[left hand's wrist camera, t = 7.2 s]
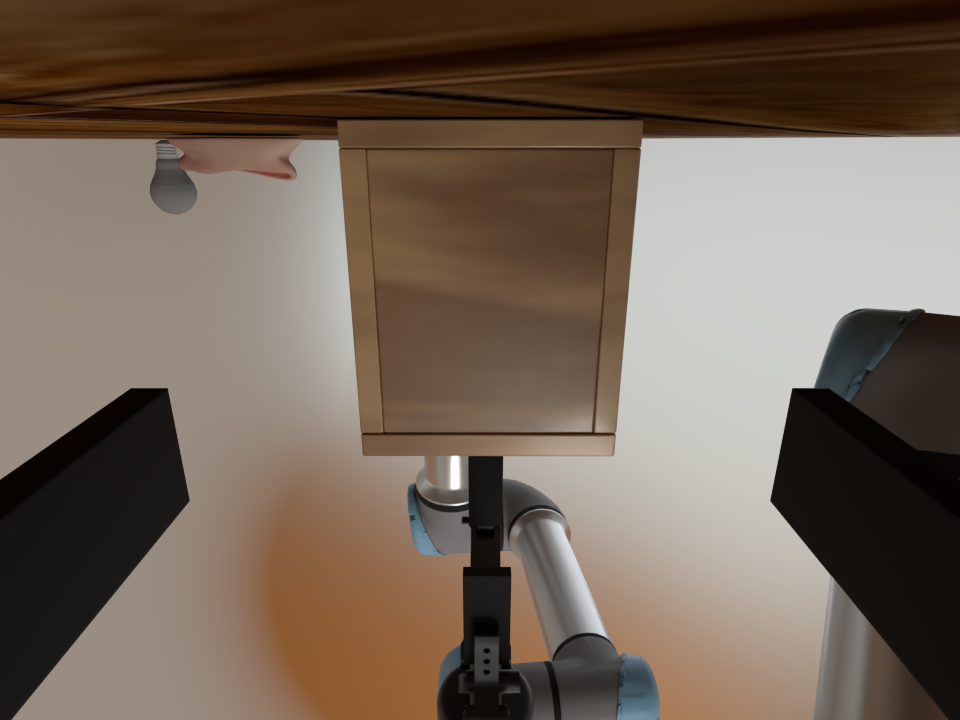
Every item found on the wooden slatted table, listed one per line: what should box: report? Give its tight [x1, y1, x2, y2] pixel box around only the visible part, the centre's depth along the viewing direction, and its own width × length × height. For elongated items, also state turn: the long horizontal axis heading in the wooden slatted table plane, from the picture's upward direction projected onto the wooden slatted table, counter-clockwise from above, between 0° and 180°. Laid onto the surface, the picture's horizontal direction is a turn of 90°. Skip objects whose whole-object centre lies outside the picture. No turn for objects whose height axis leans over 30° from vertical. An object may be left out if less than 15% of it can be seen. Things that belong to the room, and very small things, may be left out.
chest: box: [337, 119, 643, 433], centre depth 28 cm, size 16×10×11 cm, turn 0°
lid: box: [361, 432, 616, 456], centre depth 31 cm, size 16×10×8 cm, turn 0°
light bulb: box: [150, 140, 197, 214], centre depth 84 cm, size 6×6×10 cm
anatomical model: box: [167, 137, 303, 180], centre depth 53 cm, size 13×4×12 cm
